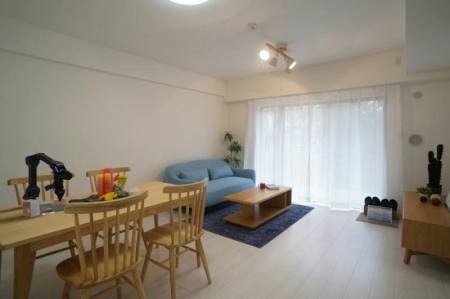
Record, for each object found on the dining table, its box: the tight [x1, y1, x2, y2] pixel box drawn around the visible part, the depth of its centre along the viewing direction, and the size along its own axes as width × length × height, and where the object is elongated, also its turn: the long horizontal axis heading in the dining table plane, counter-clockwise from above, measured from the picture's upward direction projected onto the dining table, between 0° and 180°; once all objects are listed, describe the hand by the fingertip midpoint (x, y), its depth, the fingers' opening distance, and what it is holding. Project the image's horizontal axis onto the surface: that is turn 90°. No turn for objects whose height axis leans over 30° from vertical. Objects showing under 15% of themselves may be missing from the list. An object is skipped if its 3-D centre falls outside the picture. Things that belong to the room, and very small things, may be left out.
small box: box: [22, 199, 41, 218], centre depth 157 cm, size 8×6×10 cm
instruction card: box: [41, 211, 55, 216], centre depth 161 cm, size 5×7×1 cm
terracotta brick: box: [52, 196, 67, 206], centre depth 169 cm, size 5×7×4 cm
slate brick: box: [39, 201, 52, 210], centre depth 173 cm, size 5×7×4 cm
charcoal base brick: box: [50, 201, 69, 212], centre depth 170 cm, size 8×10×4 cm
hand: (59, 200), depth 169 cm, fingers open, 9 cm apart
